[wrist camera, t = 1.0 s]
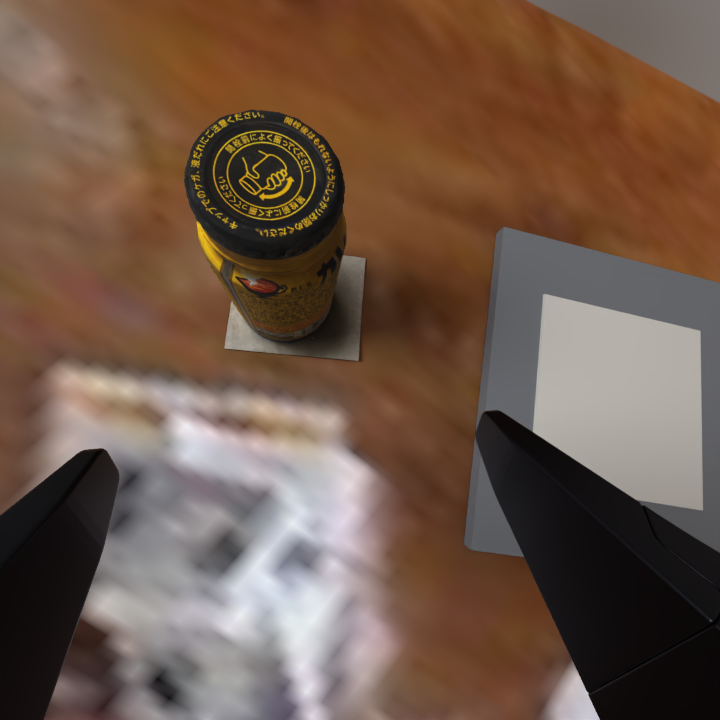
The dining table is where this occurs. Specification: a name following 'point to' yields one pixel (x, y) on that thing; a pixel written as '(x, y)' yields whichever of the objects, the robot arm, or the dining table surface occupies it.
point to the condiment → (277, 235)
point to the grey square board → (604, 378)
